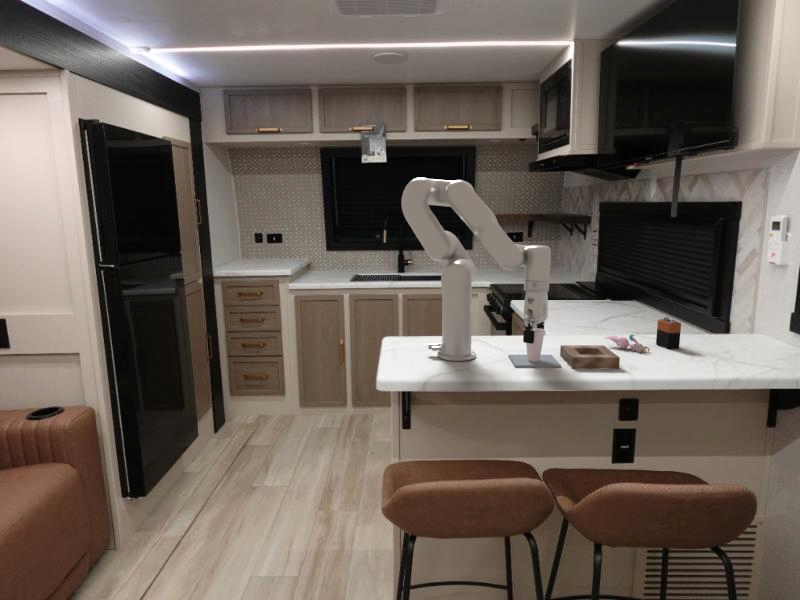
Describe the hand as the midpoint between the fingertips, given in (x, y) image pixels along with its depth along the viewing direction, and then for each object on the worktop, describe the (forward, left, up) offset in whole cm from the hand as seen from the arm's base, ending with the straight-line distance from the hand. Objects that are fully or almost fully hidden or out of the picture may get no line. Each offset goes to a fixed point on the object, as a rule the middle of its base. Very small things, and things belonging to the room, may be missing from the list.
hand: (533, 339), depth 166 cm
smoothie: (0, 0, -7) cm, 7 cm away
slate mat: (0, 0, -7) cm, 7 cm away
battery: (+50, +19, -8) cm, 54 cm away
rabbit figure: (+35, +16, -8) cm, 39 cm away
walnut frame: (+17, 0, -7) cm, 19 cm away
